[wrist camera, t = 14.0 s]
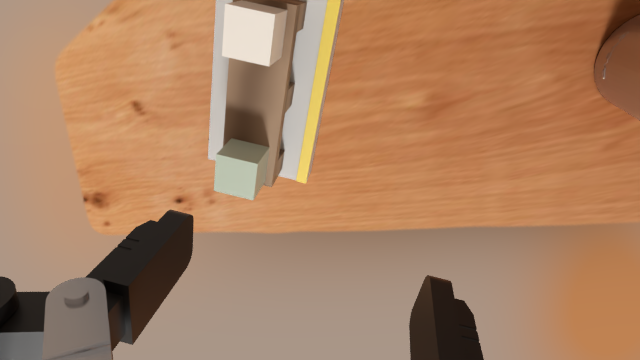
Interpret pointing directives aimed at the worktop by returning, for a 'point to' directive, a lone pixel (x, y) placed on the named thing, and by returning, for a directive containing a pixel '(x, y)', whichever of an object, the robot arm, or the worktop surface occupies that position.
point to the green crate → (241, 168)
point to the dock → (306, 73)
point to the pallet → (264, 93)
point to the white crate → (253, 32)
